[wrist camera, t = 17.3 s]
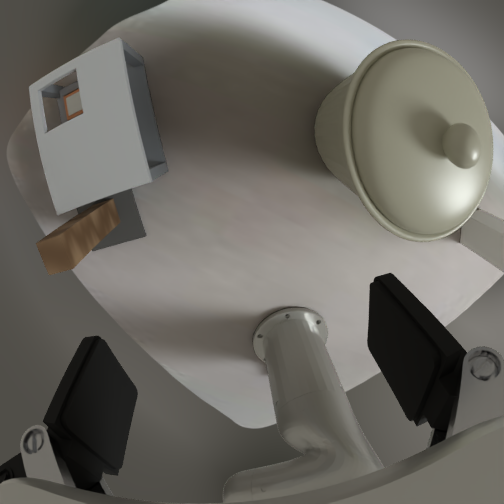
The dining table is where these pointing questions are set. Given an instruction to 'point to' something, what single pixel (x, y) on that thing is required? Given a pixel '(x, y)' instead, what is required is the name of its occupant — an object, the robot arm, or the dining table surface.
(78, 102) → the breaker button
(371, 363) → the dining table surface
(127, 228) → the pad
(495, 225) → the milk
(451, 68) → the canister
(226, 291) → the dining table surface
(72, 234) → the brown wooden bar
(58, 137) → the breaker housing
